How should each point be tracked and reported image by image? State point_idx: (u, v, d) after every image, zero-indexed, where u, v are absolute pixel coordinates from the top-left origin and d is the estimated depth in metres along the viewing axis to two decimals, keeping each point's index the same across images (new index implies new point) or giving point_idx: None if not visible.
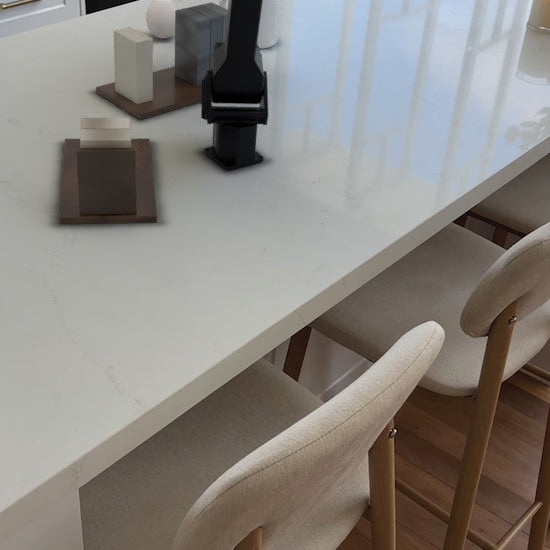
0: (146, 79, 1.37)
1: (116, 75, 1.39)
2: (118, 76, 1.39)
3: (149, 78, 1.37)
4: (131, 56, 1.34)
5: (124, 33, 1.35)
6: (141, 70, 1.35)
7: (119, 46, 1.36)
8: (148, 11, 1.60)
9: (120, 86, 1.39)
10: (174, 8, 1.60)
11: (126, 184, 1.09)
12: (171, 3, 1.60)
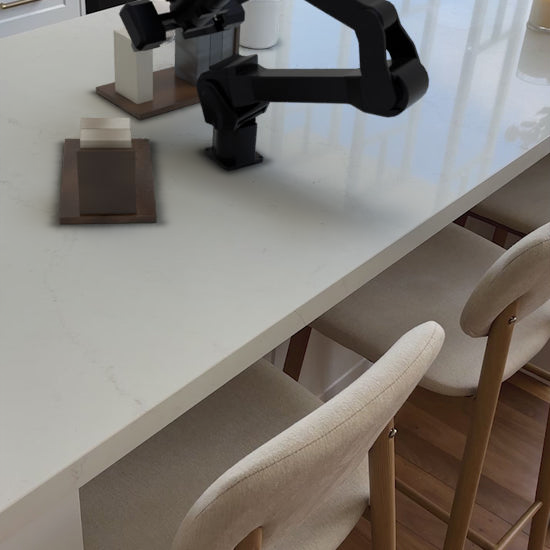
0: (146, 79, 1.37)
1: (116, 75, 1.39)
2: (118, 76, 1.39)
3: (149, 78, 1.37)
4: (131, 56, 1.34)
5: (124, 33, 1.35)
6: (141, 70, 1.35)
7: (119, 46, 1.36)
8: None
9: (120, 86, 1.39)
10: None
11: (126, 184, 1.09)
12: None
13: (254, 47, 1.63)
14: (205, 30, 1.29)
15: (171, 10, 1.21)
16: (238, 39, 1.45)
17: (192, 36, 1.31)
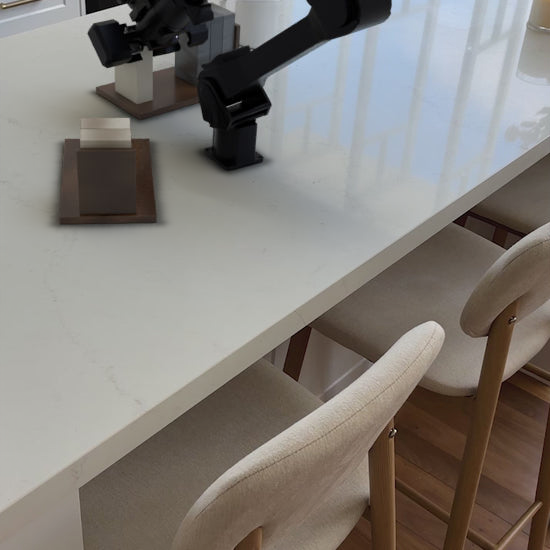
0: (146, 79, 1.37)
1: (116, 75, 1.39)
2: (118, 76, 1.39)
3: (149, 78, 1.37)
4: None
5: None
6: (141, 70, 1.35)
7: None
8: None
9: (120, 86, 1.39)
10: None
11: (126, 184, 1.09)
12: None
13: (254, 47, 1.63)
14: (156, 51, 1.35)
15: (137, 30, 1.28)
16: (238, 39, 1.45)
17: None
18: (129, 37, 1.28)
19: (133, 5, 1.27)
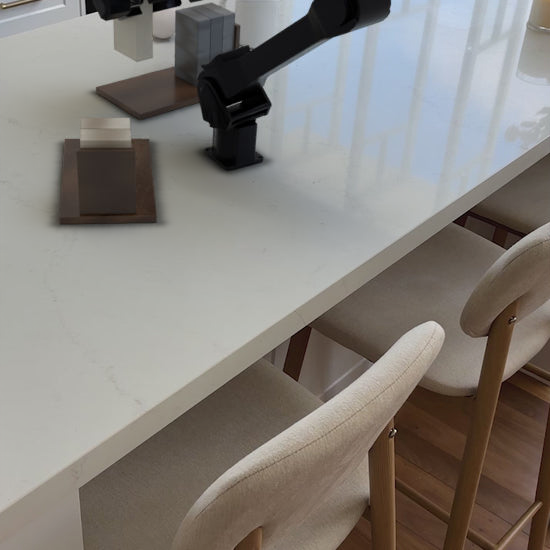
0: (146, 36, 1.33)
1: (115, 32, 1.35)
2: (117, 33, 1.35)
3: (149, 35, 1.33)
4: None
5: None
6: (141, 25, 1.31)
7: None
8: None
9: (119, 44, 1.35)
10: (174, 8, 1.60)
11: (126, 184, 1.09)
12: None
13: (254, 47, 1.63)
14: (156, 6, 1.31)
15: None
16: (238, 39, 1.45)
17: None
18: None
19: None
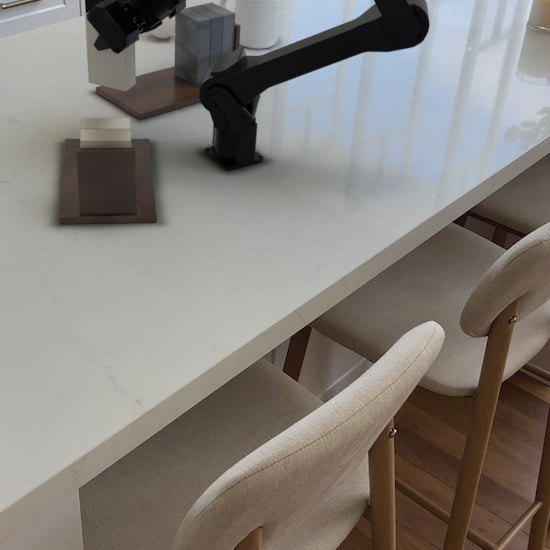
0: (131, 62, 1.24)
1: (90, 64, 1.25)
2: (94, 65, 1.25)
3: (133, 60, 1.25)
4: None
5: None
6: (128, 52, 1.22)
7: (95, 31, 1.21)
8: None
9: (97, 75, 1.25)
10: None
11: (126, 184, 1.09)
12: None
13: (254, 47, 1.63)
14: None
15: (132, 7, 1.16)
16: (238, 39, 1.45)
17: None
18: (129, 16, 1.15)
19: None
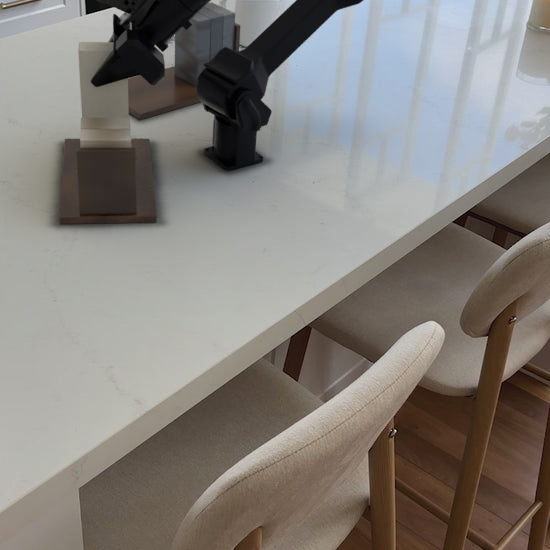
0: None
1: (85, 103, 1.14)
2: (89, 103, 1.14)
3: None
4: None
5: (95, 49, 1.11)
6: None
7: (91, 66, 1.11)
8: None
9: (93, 114, 1.15)
10: None
11: (126, 184, 1.09)
12: None
13: None
14: None
15: (143, 33, 1.09)
16: (238, 39, 1.45)
17: None
18: None
19: (135, 6, 1.07)
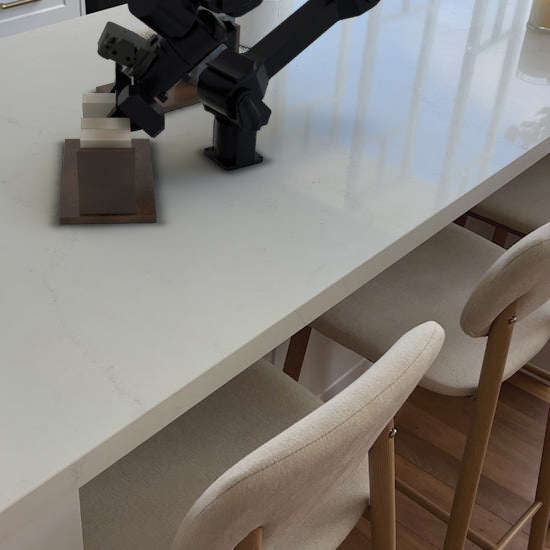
0: None
1: None
2: None
3: None
4: None
5: (98, 100, 1.15)
6: None
7: (94, 117, 1.15)
8: None
9: None
10: None
11: (126, 184, 1.09)
12: None
13: None
14: None
15: (144, 86, 1.13)
16: (238, 39, 1.45)
17: None
18: None
19: (136, 61, 1.11)
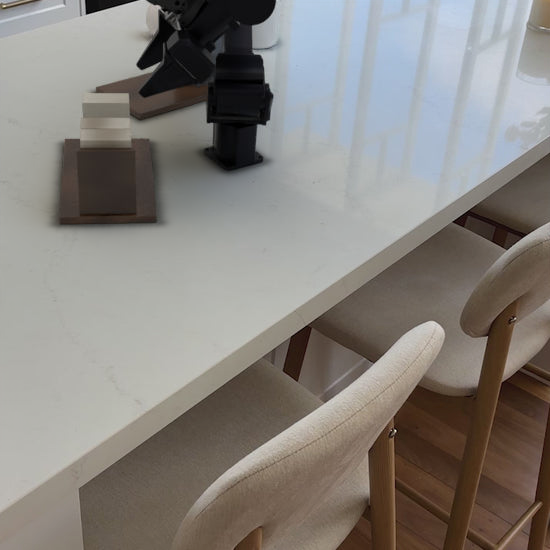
0: None
1: None
2: None
3: None
4: None
5: (98, 100, 1.15)
6: None
7: (94, 117, 1.15)
8: (148, 11, 1.60)
9: None
10: None
11: (126, 184, 1.09)
12: None
13: (254, 47, 1.63)
14: None
15: (192, 34, 1.09)
16: None
17: (155, 62, 1.18)
18: None
19: (185, 7, 1.07)
